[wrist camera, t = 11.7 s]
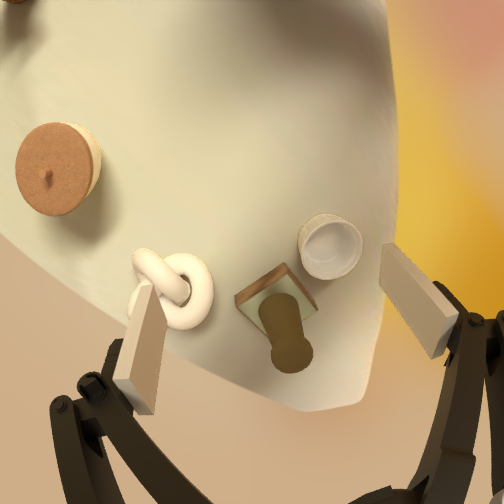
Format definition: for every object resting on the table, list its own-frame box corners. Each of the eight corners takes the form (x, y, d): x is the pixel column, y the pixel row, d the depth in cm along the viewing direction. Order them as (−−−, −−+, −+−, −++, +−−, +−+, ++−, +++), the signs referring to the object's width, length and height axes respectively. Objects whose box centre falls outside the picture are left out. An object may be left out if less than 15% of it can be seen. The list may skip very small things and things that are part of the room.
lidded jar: (113, 196, 37) (88, 222, 28) (48, 197, 35) (13, 222, 27) (113, 115, 32) (83, 119, 24) (44, 122, 30) (4, 131, 22)
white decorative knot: (215, 236, 41) (216, 269, 33) (212, 307, 46) (213, 348, 38) (134, 232, 39) (116, 264, 31) (140, 304, 45) (129, 343, 37)
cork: (288, 328, 46) (305, 382, 36) (251, 320, 44) (262, 377, 35) (305, 298, 44) (328, 350, 34) (267, 288, 42) (283, 342, 32)
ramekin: (283, 228, 42) (290, 242, 38) (338, 198, 41) (350, 208, 37) (308, 275, 46) (316, 291, 42) (358, 247, 44) (370, 260, 41)
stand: (284, 262, 44) (288, 272, 41) (313, 300, 48) (319, 311, 45) (234, 295, 46) (235, 307, 43) (267, 329, 49) (270, 341, 47)
